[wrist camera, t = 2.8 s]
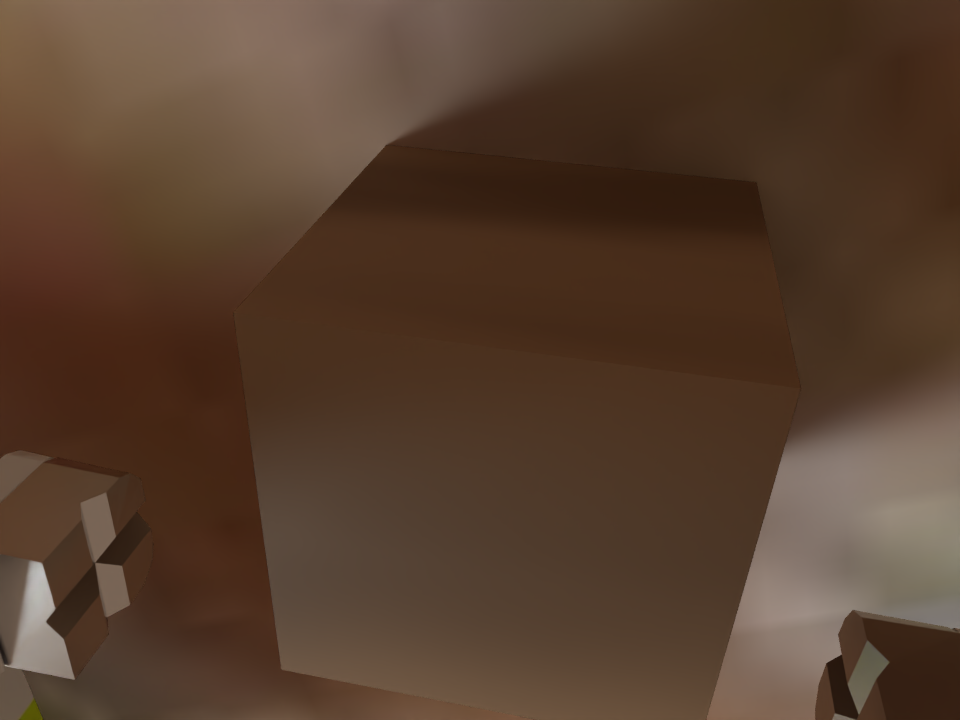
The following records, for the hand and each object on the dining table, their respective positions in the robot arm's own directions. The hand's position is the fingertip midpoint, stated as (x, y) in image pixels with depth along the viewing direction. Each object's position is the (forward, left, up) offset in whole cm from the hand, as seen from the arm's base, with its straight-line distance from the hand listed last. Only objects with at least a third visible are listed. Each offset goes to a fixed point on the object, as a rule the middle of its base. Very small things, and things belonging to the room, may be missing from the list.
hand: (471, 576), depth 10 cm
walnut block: (-1, 0, -4) cm, 5 cm away
